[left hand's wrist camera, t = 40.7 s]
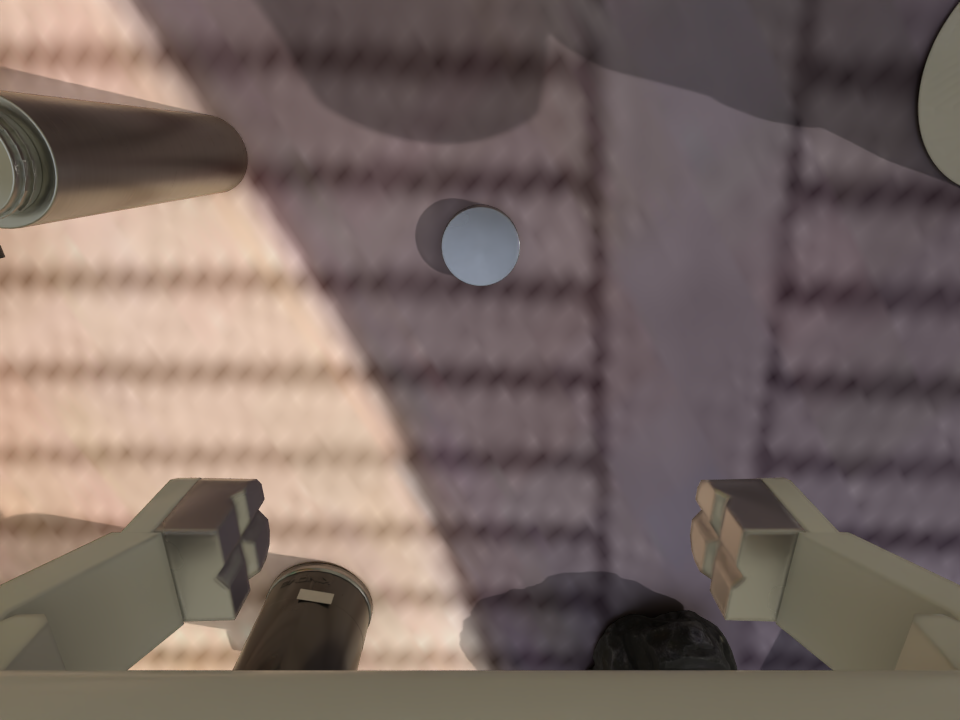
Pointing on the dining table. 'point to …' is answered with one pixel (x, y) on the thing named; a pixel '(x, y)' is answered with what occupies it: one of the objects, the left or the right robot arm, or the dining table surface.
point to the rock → (663, 644)
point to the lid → (480, 245)
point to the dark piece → (106, 158)
